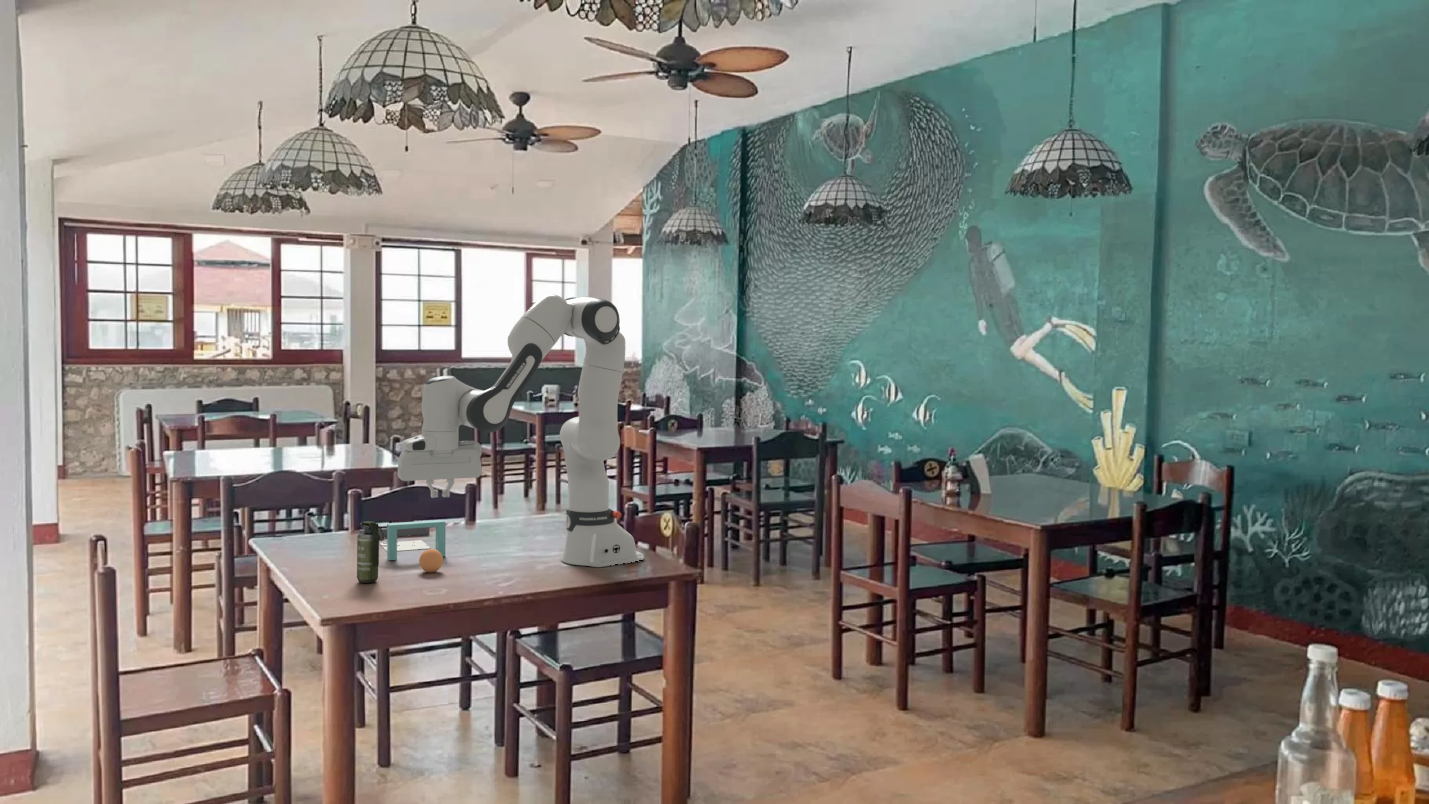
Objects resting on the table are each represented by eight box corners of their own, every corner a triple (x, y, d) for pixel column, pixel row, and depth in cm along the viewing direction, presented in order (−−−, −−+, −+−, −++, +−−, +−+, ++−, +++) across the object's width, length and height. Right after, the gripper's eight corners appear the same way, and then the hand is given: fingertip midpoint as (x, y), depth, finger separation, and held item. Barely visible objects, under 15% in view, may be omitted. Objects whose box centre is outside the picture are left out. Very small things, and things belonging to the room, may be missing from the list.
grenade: (352, 582, 269) (352, 522, 268) (369, 578, 274) (369, 519, 273) (370, 586, 266) (370, 525, 265) (387, 581, 271) (387, 521, 270)
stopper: (427, 533, 331) (427, 525, 330) (429, 534, 329) (429, 526, 329) (359, 538, 321) (359, 529, 321) (360, 539, 320) (360, 530, 320)
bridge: (387, 558, 295) (387, 523, 295) (442, 554, 302) (442, 519, 302) (389, 561, 293) (389, 525, 292) (445, 556, 300) (445, 521, 299)
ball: (440, 568, 286) (440, 545, 285) (445, 573, 280) (445, 550, 280) (416, 570, 283) (416, 547, 282) (421, 575, 278) (421, 552, 277)
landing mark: (421, 540, 320) (421, 539, 320) (430, 548, 309) (430, 548, 309) (379, 543, 314) (379, 542, 314) (387, 552, 304) (387, 551, 304)
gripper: (478, 438, 277) (478, 492, 279) (396, 441, 268) (396, 497, 269) (485, 441, 272) (484, 496, 273) (401, 444, 263) (401, 501, 264)
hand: (440, 497), depth 271 cm, fingers closed
